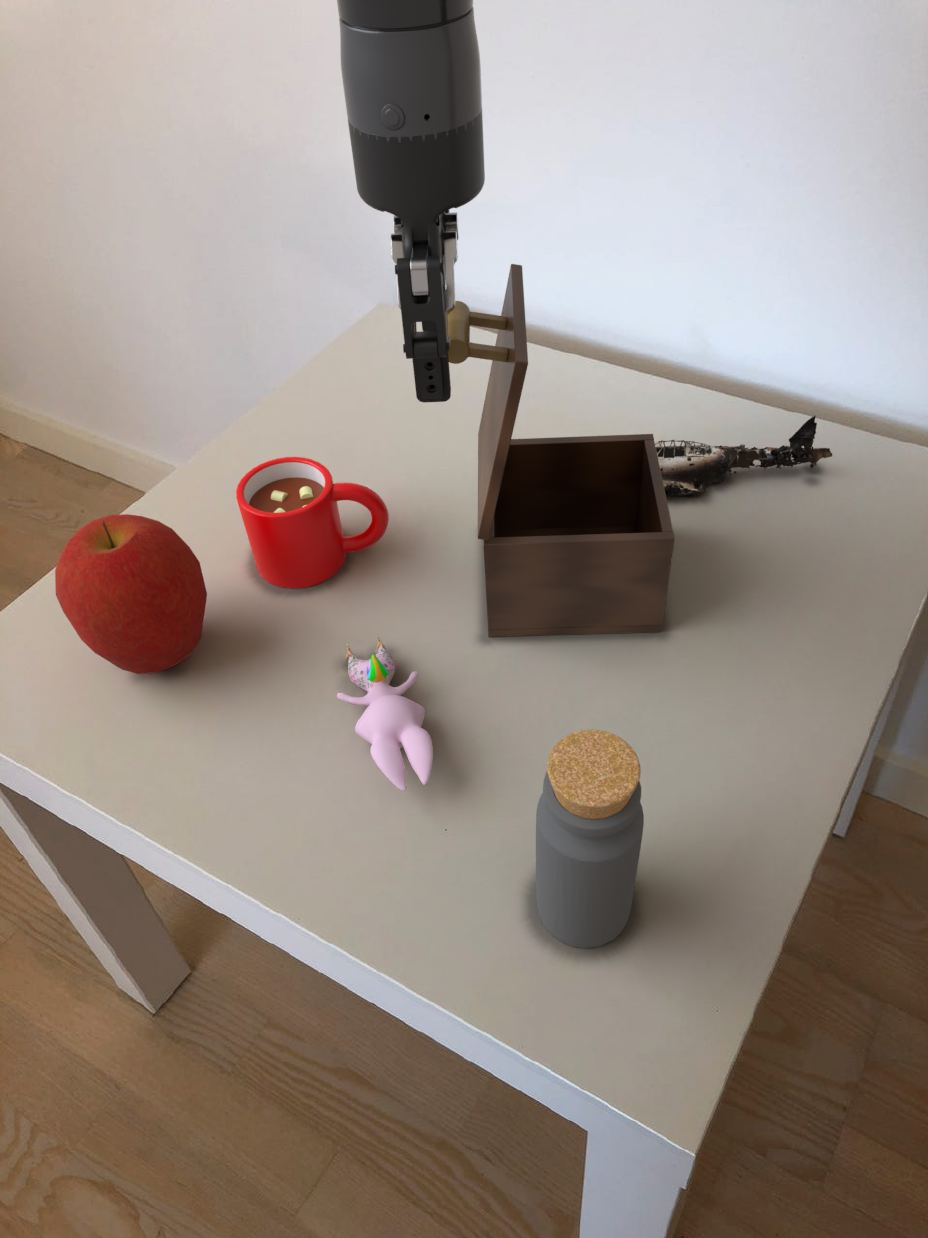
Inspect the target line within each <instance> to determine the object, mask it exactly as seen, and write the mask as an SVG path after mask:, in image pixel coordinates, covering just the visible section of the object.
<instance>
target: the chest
mask: <svg viewBox="0 0 928 1238" xmlns="http://www.w3.org/2000/svg"><path fill="white" fill-rule="evenodd" d="M655 443H656V441H655V436H654V433H641V434H638V433H636V434H613V435H612V434H611V435H585V436H584V435H583V436H559V437H555V436H554V437H533V438H531V437H530V438H511V442H510V447H509V451H508V455H507V460H506V464H505V469H504V473H503V478H502V482H501V487H500V491H499V495H498V500H497V504H496V509H495V513H494V518H493V522H492V527H491V531H490V536H489V539H488V540H482V548H483V567H484V583H485V602H486V604H485V605H486V619H487V620H486V621H487V623H486V624H487V636H488V637H489V638H493V637H496V638H497V637H501V638H502V637H531V636H532V637H533V636H567V635H569V636H570V635H571V636H572V635H603V634H605V635H606V634H608V635H609V634H640V633H641V634H642V633H643V634H645V633H663V626H664V625H663V624H664V618H665V616H664V615H665V610H666V603H667V597H668V589H669V584H670V575H671V570H672V569H671V568H672V561H673V556H674V555H673V554H674V547H675V540H676V537H675V533H674V527H673V524H672V519H671V518H672V517H671V514H670V508H669V504H668V499H667V494H665V490H664V485H663V480H662V475H661V470H660V466H659V461H658V456H657V451H656V447H657V446H656V445H655Z"/></svg>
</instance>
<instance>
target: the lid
mask: <svg viewBox="0 0 928 1238" xmlns="http://www.w3.org/2000/svg"><path fill="white" fill-rule="evenodd" d="M523 273H524V272H523V265H522V264H515V263H510V266H509V273H508V276H507V277H508V278H507V283H506V288H505V293H504V299H503V303H502V309H501V314H500V315H497V314H490V313H484V312H476V311H471V309H470V307H469V306H468V305H467V303H465V302H464V301H461V300H455V308H454V309H453V311H451V312H450V313H449V314H448V337H449V336H450V337H451V345H449V351H448V357H449V364H454V365H459V364H461V363H463V362H466V361H467V359H468V358H472V359H480V360H488V361H491V364H490V371H489V375H488V381H487V387H486V391H485V398H484V400H483V401H484V402H483V407H482V412H481V418H480V422H479V427H478V432H477V539H478V540H481V541H483V540H488V539H489V536H490V531H491V527H492V522H493V518H494V513H495V509H496V504H497V500H498V495H499V491H500V487H501V482H502V478H503V473H504V469H505V464H506V460H507V455H508V451H509V447H510V442H511V439H513V433H514V429H515V424H516V419H517V415H518V410H519V406H520V402H521V398H522V394H523V390H524V389H523V388H524V384H525V380H526V375H527V371H528V366H529V354H528V339H527V321H526V307H525V306H526V305H525V289H524V274H523ZM471 326H473V327H479V328H487V329H493V330H497V334H496V340H495V345H490V344H484V343H477V342H471Z"/></svg>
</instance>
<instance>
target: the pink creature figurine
mask: <svg viewBox="0 0 928 1238" xmlns="http://www.w3.org/2000/svg"><path fill="white" fill-rule="evenodd" d="M376 636H377V644H376V648H375V650H374V653H375V654H374V653H372V654H371V656H370V658H368V659H361V658H359V656H357V655H356V654H354V653H353V652H352V651H351V648H350V646H349V644H348V643H346V648H347V649H346V655H345V661H348V663H347V673H348V677H349V680H350V681H351V683H353V684H354V685H355V686H356V687H358V688H360V689H362V690H364V691H365V692H367V693H366V694H365V695H364V696H352V695H348V694H346V693H345V692H343V691H342V692H341V691H340V692H338V693H336V699H338V700H339V701H342V702H345V703H349V704H353V705H358V706H367V707H366V709H365V710H364V711H363V713H362V714H361V716H360V717H359V718H358V720H357V722H356V724H355V727H354V731H355V733H356V734H357V735H358V737H359V736H360V738H361V739H364V740H365V741H366V742H367V743H369V744H370V745H371V746H370V751H369V752H370V756H371V758H372V759H373V761H374V763H375V764H376V766H377V767H378V768H379V769H380V771H381V772H382V773H383V774H384V776H386V778H387V779H388V780H389V781H390V782H391V783H392V784H393V785H394V786H395V787H396V788H398V789H399V790H400V791H401V792H406V791H407V790H408V785H407V775H406V774H407V773H406V766H405V761H404V758H403V755H402V752H401V749H403V750H404V752H405V755H406V757H407V759H408V761H409V764H410V765H411V767H412V770H413V771H414V773H415V774H416V775H417V777H418V778H419V780H420V783H421V784H422V785H424V786H425V785H426V786H427V784H428V783H429V781H430V780H431V779H430V778H431V774H432V769H433V761H434V747H433V740H432V737H431V735H430V733H429V732H428V731H427V730H426V729H424V728H422V726H423V724H424V718H425V716H426V710H425V707H423V706H422V705H421V704H419V703H417V702H416V701H413V700H412V699H409V698H408V697H405V696H402V695H403V694H405V692H406V691H408V690H409V689H410V688H411V687H412V686H413V684H414V683H415V681H417V680H418V677H419V672H418V671H417V670H413V671H412V672H411V673H410V675H409V677H408V678H407V680H406V681H405V682H403V683H402V684H400V685H398V686H392V685H390V684H391V681H392V680H393V678H394V675H395V672H396V664H395V660H394V658H393V657H392V656H391V654H390V653H389V651H388V650H387V648H386V646H385V645H384V643H383V642H382V641H381V639H380V636H379V635H378V634H377V635H376Z"/></svg>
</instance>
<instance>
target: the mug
mask: <svg viewBox="0 0 928 1238" xmlns="http://www.w3.org/2000/svg"><path fill="white" fill-rule="evenodd" d="M235 496H236V497H235V498H236V502H237V506H238V508H239V512H240V515H241V519H242V522H243V525H244V529H245V532H246V536H247V539H248V543H249V547H250V549H251V552H252V556H253V560H254V563H255V567H256V570H257V572H258V574H259V575H260V577H261V578H262V579H263V580H265V581H266V582H268V583H269V584H271V585H273V586H276V587H278V588H279V587H280V588H284V589H302V588H303V589H304V588H309V587H312V586H315V585H318V584H321V583H323V582H325V581H327V580H328V579H329V578H331V577H333V576H334V575H335V574H336V573H338V571H340V569H341V568H342V566H343V565H344V563H345V560H346V558H347V553H354V552H355V553H356V552H360V551H363V550H366V549H368V548H371V547H372V546H374V545H375V544H377V543H378V542H379V541H380V540H381V539H382V537H383V536H384V535H385V533H386V531H387V528H388V526H389V519H390V518H389V517H390V516H389V515H390V514H389V510H388V507H387V505H386V503H385V502H384V500H383V498H382V497H381V496H380V495H379V494H378V493H377V492H375V491H374V490H372V489H371V488H369V487H368V486H365V485H362V484H359V483H354V482H336V483H335V482H334V480H333V476H332V474H331V472H330V471H329V469H328V468H327V467H326V466H325V465H324V464H322V463H320V462H319V461H317V460H314V459H312V458H309V457H308V458H307V457H303V456H302V457H301V456H284V457H278V458H274V459H271V460H267V461H264V462H262V463H260V464H258V465H256V466H254V467H253V468H251V469H250V470H249V471H248V472H246V473H245V474H244V476H242V478H241V479H240V480H239V482H238V484H237V486H236V490H235ZM339 501H351V502H356V503H359V504H360V505H362V506H364V507H365V508H366V509H367V510H368V511H369V513H370V516H371V521H370V524H369V525H368V526H367V528H365V530H362V531H361V532H359V533H356V534H352V535H344V532H343V531H344V530H343V526H342V520H341V515H340V512H339V506H338V502H339Z"/></svg>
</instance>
